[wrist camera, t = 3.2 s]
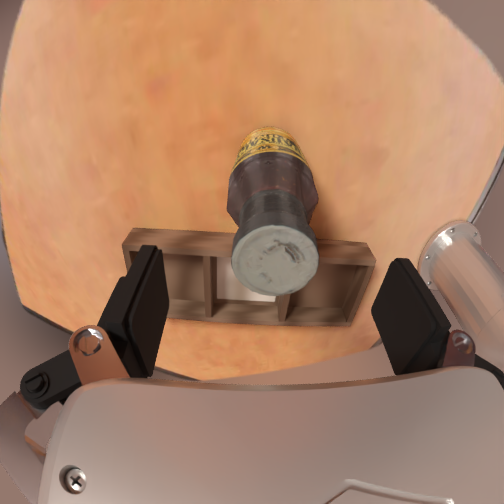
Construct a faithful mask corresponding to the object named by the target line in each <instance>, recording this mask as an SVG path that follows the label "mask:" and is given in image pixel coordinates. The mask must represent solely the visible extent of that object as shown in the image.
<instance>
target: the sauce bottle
mask: <svg viewBox="0 0 504 504" xmlns="http://www.w3.org/2000/svg"><path fill="white" fill-rule="evenodd" d="M317 203H318V193H317V191H316V188H315V185H314V182H313V176H312V173H311V170H310V168H309V166H308V164H307V162H306V160H305V157H304V155H303V153H302V152H301V149H300V147H299V145H298V144H297V142H296V140H295V139H294V138H293V137H292V136H291V135H290V134H289V133H288V132H286V131H284V130H282V129H279V128H274V127H263V128H260V129H257V130H255V131H253V132H251V133H250V134H249V135H248V136H247V137H246V138H245V139H244V141H243V142H242V144H241V146H240V149H239V152H238V155H237V158H236V161H235V164H234V167H233V169H232V173H231V176H230V179H229V189H228V201H227V212H228V213H229V214H230V216H231V217H232V218H233V220H234V221H235V223H236V224H237V225H238V227H239V229H238V231H237V233H236V234H235V236H234V239H233V246H232V256H231V266H232V269H233V272H234V274H235V276H236V278H237V279H238V280H239V281H240V282H241V283H242V284H243V285H244V286H245V287H246V288H248V289H250V290H251V291H252V292H256V293H258V294H261V295H267V296H279V295H285V294H291V293H294V292H296V291H298V290H300V289H302V288H303V287H305V286H306V285H307V284H308V282H309V281H310V280H311V279H312V278H313V276H314V275H315V274H316V272H317V269H318V265H319V252H318V245H317V239H316V236H315V234H314V232H313V230H312V229H311V227H310V226H309V223H310V220H311V217H312V213H313V211H314V209H315V206H316V204H317Z"/></svg>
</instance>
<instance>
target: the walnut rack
mask: <svg viewBox="0 0 504 504" xmlns="http://www.w3.org/2000/svg"><path fill="white" fill-rule="evenodd" d="M235 234H236V233H221V232H204V231H186V230H166V229H146V228H133V229H132V230H131V232H130V233H129V235H128V236H127V238H126V239H125V240H124V242H123V243H122V249H123V254H124V259H125V263H126V268H127V272H128V271H129V269H130V267H131V265H132V263H133V261H134V259H135V257H136V255H137V253H138V251H139V250H140V248H141V246H142V245H156V246H157V247H158V249H161V250H162V253H163V260H164V268H165V275H166V282H167V289H168V295H169V310H168V314H167V318H175V319H185V320H196V321H208V322H221V323H237V324H255V325H280V326H350V325H351V323H352V321H353V318H354V316H355V314H356V311H357V309H358V307H359V304H360V302H361V299H362V297H363V295H364V292H365V290H366V287H367V284H368V282H369V279H370V277H371V274H372V271H373V269H374V266H375V263H376V259H375V257H374V255H373V254H372V252H371V250H370V248H369V247H368V245H367V243H361V242H349V241H337V240H324V239H317V245H318V252H319V265H318V269H317V272H316V274H315V275H314V276H313V278H312V279H311V280H310V281H309V282H308V284H307V285H306V286H305V287H303V288H302V289H300V290H298V291H296V292H294V293H291V294H285V295H279V296H267V295H261V294H258V293H256V292H252V291H251V290H250V289H248V288H246V287H245V286H244V285H243V284H242V283H241V282H240V281H239V280H238V279H237V278H236V276H235V274H234V272H233V269H232V266H231V256H232V246H233V239H234V236H235Z"/></svg>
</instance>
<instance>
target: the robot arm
mask: <svg viewBox="0 0 504 504" xmlns="http://www.w3.org/2000/svg"><path fill="white" fill-rule="evenodd" d="M430 289H431V290H439V291H440V292H441V294H442V296H443V297H444V298H445V300H446V302H447V304H448V305H449V307H450V308H451V310H452V312H453V313H454V315H455V317H456V318H457V320H458V322H459V323H460V325H461V327H462V329H463V330H464V331H461V330H454V331H452V332H451V333H450V332H449V331H448V330H449V329H450V327H451V324H450V322H449V320H448V319H447V317H446V315H445V314H444V312H443V311H442V309H441V307H440V305H439V304H438V302H437V301H436V299H435V297H434V296H433V294H432V293H431V291H430ZM168 310H169V295H168V289H167V282H166V275H165V268H164V260H163V253H162V250H161V249H158V247H157V246H156V245H142V246H141V248H140V250H139V251H138V253H137V255H136V257H135V259H134V261H133V263H132V265H131V267H130V269H129V271H128V273H127V275H126V277H123V276H122V277H121V278H120V279H119V280H118V282H117V284H116V286H115V288H114V290H113V292H112V294H111V297H110V299H109V301H108V303H107V305H106V307H105V309H104V311H103V313H102V316H101V318H100V320H99V322H98V324H97V326H95V325H88V326H84V327H81V328H80V329H78V330H76V331H75V332H74V333H73V334H72V336H71V338H70V341H69V350H67V351H65V352H63V353H61V354H59V355H57V356H56V357H54V358H52V359H50V360H48V361H46V362H44V363H42V364H40V365H38V366H36V367H35V368H32V369H31V370H29V371H28V372H27V373H26V374H25V375H24V376H23V378H22V380H21V384H20V391H19V392H18V393H16V392H15V391H14V392H13V393H12V394H11V395H10V396H9V397H8V398H7V399H6V400H5V401H4V402H3V403H2V404H1V405H0V463H1V464H2V466H3V467H4V469H5V470H6V472H7V473H8V474H9V476H10V477H11V479H12V480H13V481H14V483H15V484H16V485H17V487H18V488H19V489H20V491H21V492H22V493H23V495H24V496H25V497H26V498H27V500H28V501H29V502H30V503H31V504H504V373H503V372H502V371H501V370H504V272H503V270H502V269H501V268H500V267H499V266H498V265H497V263H496V262H495V261H494V260H493V258H491V257H490V255H489V254H488V253H487V252H486V251H485V250H484V249H483V248H482V247H481V237H480V234H479V231H478V230H477V228H476V227H475V226H474V225H473V224H471V223H470V222H468V221H463V220H460V221H454V222H451V223H449V224H447V225H445V226H444V227H442V228H441V229H440V230H438V231H437V232H436V233H435V234H434V235H433V236H432V237H431V239H430V240H429V241H428V243H427V244H426V246H425V247H424V249H423V251H422V254H421V256H420V259H419V264H418V271H417V270H416V268H415V267H414V266H413V264H412V263H411V261H410V260H409V259H407V258H396V259H395V260H394V261H392V262H391V264H390V266H389V268H388V271H387V273H386V276H385V278H384V280H383V283H382V285H381V288H380V290H379V292H378V294H377V297H376V299H375V301H374V303H373V305H372V309H371V313H372V316H373V319H374V321H375V324H376V326H377V329H378V331H379V334H380V336H381V339H382V341H383V344H384V346H385V349H386V352H387V354H388V357H389V360H390V363H391V365H392V368H393V371H394V373H395V375H396V376H390V377H382V378H374V379H366V380H357V381H346V382H336V383H320V384H298V385H236V384H215V383H198V382H183V381H173V380H163V379H148V378H147V377H151V376H152V374H153V370H154V366H155V361H156V357H157V353H158V349H159V345H160V341H161V337H162V333H163V329H164V325H165V321H166V318H167V314H168ZM475 352H476V354H475ZM49 439H50V442H49V446H48V450H47V453H46V445H47V442H48V441H49Z"/></svg>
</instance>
